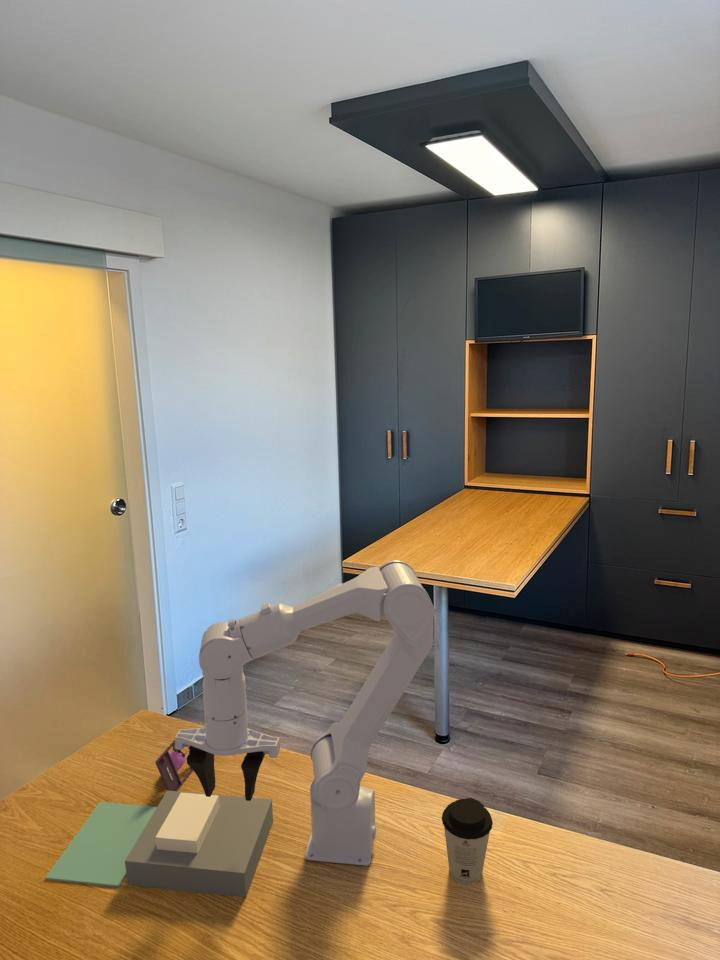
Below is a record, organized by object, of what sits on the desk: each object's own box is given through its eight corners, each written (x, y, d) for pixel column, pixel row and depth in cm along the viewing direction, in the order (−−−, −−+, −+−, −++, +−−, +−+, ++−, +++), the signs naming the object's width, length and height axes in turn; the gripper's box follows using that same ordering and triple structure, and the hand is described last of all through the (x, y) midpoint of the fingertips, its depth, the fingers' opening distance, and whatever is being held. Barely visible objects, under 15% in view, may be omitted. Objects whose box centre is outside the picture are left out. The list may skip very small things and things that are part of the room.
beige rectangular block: (219, 806, 101) (218, 795, 100) (197, 853, 92) (196, 841, 92) (182, 803, 102) (181, 792, 101) (156, 849, 93) (155, 837, 92)
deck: (273, 821, 103) (271, 799, 102) (246, 897, 90) (244, 873, 89) (169, 811, 105) (167, 790, 104) (127, 884, 92) (124, 860, 91)
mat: (164, 809, 106) (164, 807, 106) (119, 887, 92) (118, 885, 92) (100, 803, 108) (100, 801, 107) (45, 879, 93) (45, 877, 93)
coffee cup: (472, 901, 89) (474, 838, 86) (430, 872, 93) (431, 811, 91) (500, 870, 93) (503, 809, 91) (459, 843, 98) (461, 786, 96)
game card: (160, 760, 108) (189, 728, 116) (135, 765, 109) (165, 732, 118) (175, 796, 108) (203, 762, 117) (150, 800, 110) (179, 766, 119)
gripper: (284, 696, 94) (286, 779, 97) (186, 689, 96) (192, 770, 99) (271, 726, 87) (274, 814, 90) (166, 717, 89) (172, 804, 92)
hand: (230, 793), depth 94 cm, fingers open, 5 cm apart
